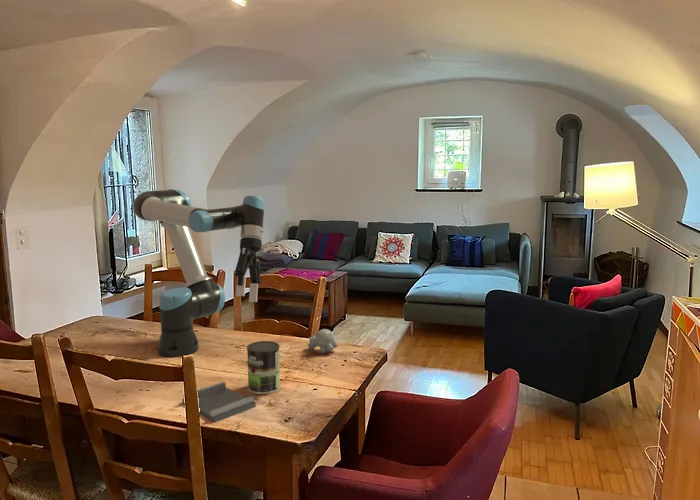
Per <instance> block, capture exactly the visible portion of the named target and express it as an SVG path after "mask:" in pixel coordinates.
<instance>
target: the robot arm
mask: <svg viewBox="0 0 700 500" xmlns="http://www.w3.org/2000/svg"><path fill="white" fill-rule="evenodd" d="M132 210H133V212H134V214H135V215H136V216H137V217H138V219H140V220H143V221H147V222H150V223H151V222H157V221H159V224H160V226H161V227H162V228H165V229H166V231H167V234H168V237H169V239H170V242H171V245H172V247H173V250H174V253H175V256H176V259H177V261H178V264H179V268H180V269H181V272H182V274H183V275H182V276H183V278H184V280H185V283H186V284H185V286H184V287H183V286H182V287H174V288H170V289H167V290H165V291H164V292H162V293H161V295H160V297H159V304H158V307H159V314H160V316H159V317H160V327H161V328H160V329H161V330H160V331H161V332H160V336H159V339H158V343H157V353H158V355H160V356H164V357H171V358H173V357H182V355H184V356H187V355H186V354H188V355H190V354H194V353H196V352H197V351H198V350H199V348H200V347H199V340H198V338H197V335H196V334H195V330H194V321H193V320H197V319H200V318H204V317H207V316H211V315H212V316H213V315H214V314H216V313H218V312H221V310H222V309H223V308H224V305H225V303H226V295H225V294H226V293H225V291H224V289H223V287H222V286H221V285H220V284H219V283H215V282H214V278H213V277H211V276H208V274H207V271H206V269H205V266H204V263H203V261H202V258H201V256H200V255H201V254H200V253H199V250H198V247H197V245H196V241H195V239H194V236H193V234H192V232H194V233H207V232H213V231H218V230H219V231H220V230H230V229H236V228H240V227H241V228H240V240H239V256H238V259H237V262H236V266H235V271H234V276H235V277H237V278H236V279H237V280H236V288H235V289H236V291H235V296H236V297H245V296H246V295H245V294H246V282H247V281H246V279H247V277H246V273H247V271H249V275H250V276H249V278H250V284H249V295H248V302H249V303H253V302H254V303H257V302H258V289H259V285H261V283H262V281H261V274H260V273H261V272H260V256H258V255H257V252H261V251H262V245H263V244H262V243H263V241H262V239H263V233H264V231H265V230H264V229H263V227H264V213H265V200H264V198H262V197H261V196H258V195H246V196H244V198H243V201H242V204H240V205H236V206H230V207H221V208H211V209H207V208H206V209H205V208H199V207H196V206H192V204H191V200H190V198H189V196H188V195H187V194H186V193H185V192H184V191H182V190H180V189H172V188H171V189H164V190H162V189H161V190H147V191H144V192H141V193H139V194H138V195H137V196H136V197H135V199H134V201H133V205H132ZM191 230H192V231H191Z"/></svg>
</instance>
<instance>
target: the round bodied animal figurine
mask: <svg viewBox="0 0 700 500" xmlns="http://www.w3.org/2000/svg"><path fill="white" fill-rule="evenodd" d="M308 339H309V340H308V341H307V342H306V343H307V344H306V345H307V347H308V349H309V350H313V351H314V349H315V348H317V347H319V351H320V353H321V354H325V353H327V352H332V351H333V350H334V349H336V348H338V346H339V344H338V342H337V341H336V340H335V335H334V333H333V332H332V331H331V330H330V329H327V328H322V329H320V330H318V331H317V333H316V334H312V336H311V337H310V336H308Z"/></svg>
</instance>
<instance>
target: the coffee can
mask: <svg viewBox="0 0 700 500" xmlns="http://www.w3.org/2000/svg"><path fill="white" fill-rule="evenodd" d="M280 347H281V346H280V343H277V342H275V341H269V340H261V341H255V342H252V343H249V344H248V345H247V346H246V351H247V377H248V378H247V382H248V385H247V386H248V391H249V392H250V393H251V394H255V395H268V394H274V393H275V392H278V391H279V389H280V388H281V384H280V382H281V381H280V379H281V377H280V371H281V370H280V368H281V367H280Z"/></svg>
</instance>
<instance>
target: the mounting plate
mask: <svg viewBox="0 0 700 500" xmlns="http://www.w3.org/2000/svg"><path fill="white" fill-rule="evenodd" d="M196 391H197V392H198V398H199V408H200V413H199V414H200V415H202V416H204V417H205V416H206V417H205V418H207V419H208V418H209V420H210V419H211V420H210V421H212V422H213V421H214V423H216V421H217V422H220V421H222V420H224V419H227V418H230V417H231V416H235V415H237V414H240V413H243V412H245V411H247V410H250V409H253V408H255V407H256V405H257V404H256V402H255V400H254V399H255V397H254V396H253V395H251V396H247V397H246V396H243V395H242V394H240V393H238V392H236V391H234V390H232V389H230V388H228V387H226V382H225V381H221V382H217V383H215V384H212V385H209V386H206V387H203V388H200V389H198V390H196ZM184 395H185V394H183V398H182V399H181V400H182V403H183V404H184Z"/></svg>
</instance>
